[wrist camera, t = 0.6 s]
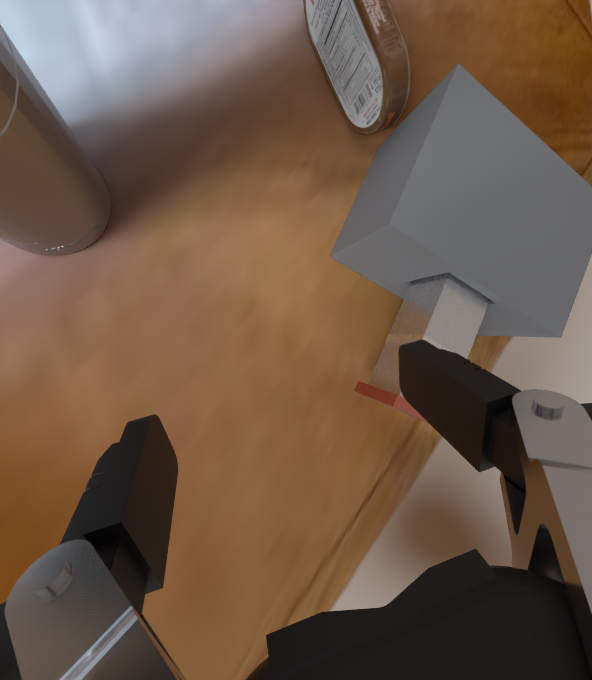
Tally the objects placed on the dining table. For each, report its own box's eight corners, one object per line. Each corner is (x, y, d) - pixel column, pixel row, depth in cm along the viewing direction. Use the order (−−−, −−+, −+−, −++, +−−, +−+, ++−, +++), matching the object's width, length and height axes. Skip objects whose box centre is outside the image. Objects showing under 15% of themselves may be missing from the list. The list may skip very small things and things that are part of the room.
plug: (404, 413, 32) (452, 433, 26) (354, 390, 30) (393, 406, 24) (460, 275, 33) (517, 264, 27) (415, 246, 32) (466, 226, 25)
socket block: (463, 334, 39) (561, 337, 28) (329, 256, 33) (389, 223, 22) (502, 236, 40) (610, 203, 29) (379, 144, 34) (458, 63, 24)
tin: (377, 144, 34) (430, 87, 26) (354, 154, 33) (402, 99, 25) (314, 0, 32) (353, -112, 23) (288, 8, 31) (319, -105, 23)
